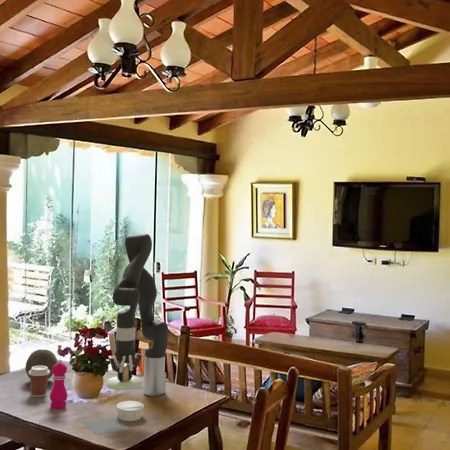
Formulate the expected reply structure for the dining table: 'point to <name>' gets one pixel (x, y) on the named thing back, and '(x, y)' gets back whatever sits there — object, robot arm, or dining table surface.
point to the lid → (124, 381)
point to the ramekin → (129, 410)
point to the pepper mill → (58, 386)
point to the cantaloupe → (41, 360)
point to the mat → (106, 426)
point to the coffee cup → (39, 380)
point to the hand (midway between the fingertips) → (124, 380)
